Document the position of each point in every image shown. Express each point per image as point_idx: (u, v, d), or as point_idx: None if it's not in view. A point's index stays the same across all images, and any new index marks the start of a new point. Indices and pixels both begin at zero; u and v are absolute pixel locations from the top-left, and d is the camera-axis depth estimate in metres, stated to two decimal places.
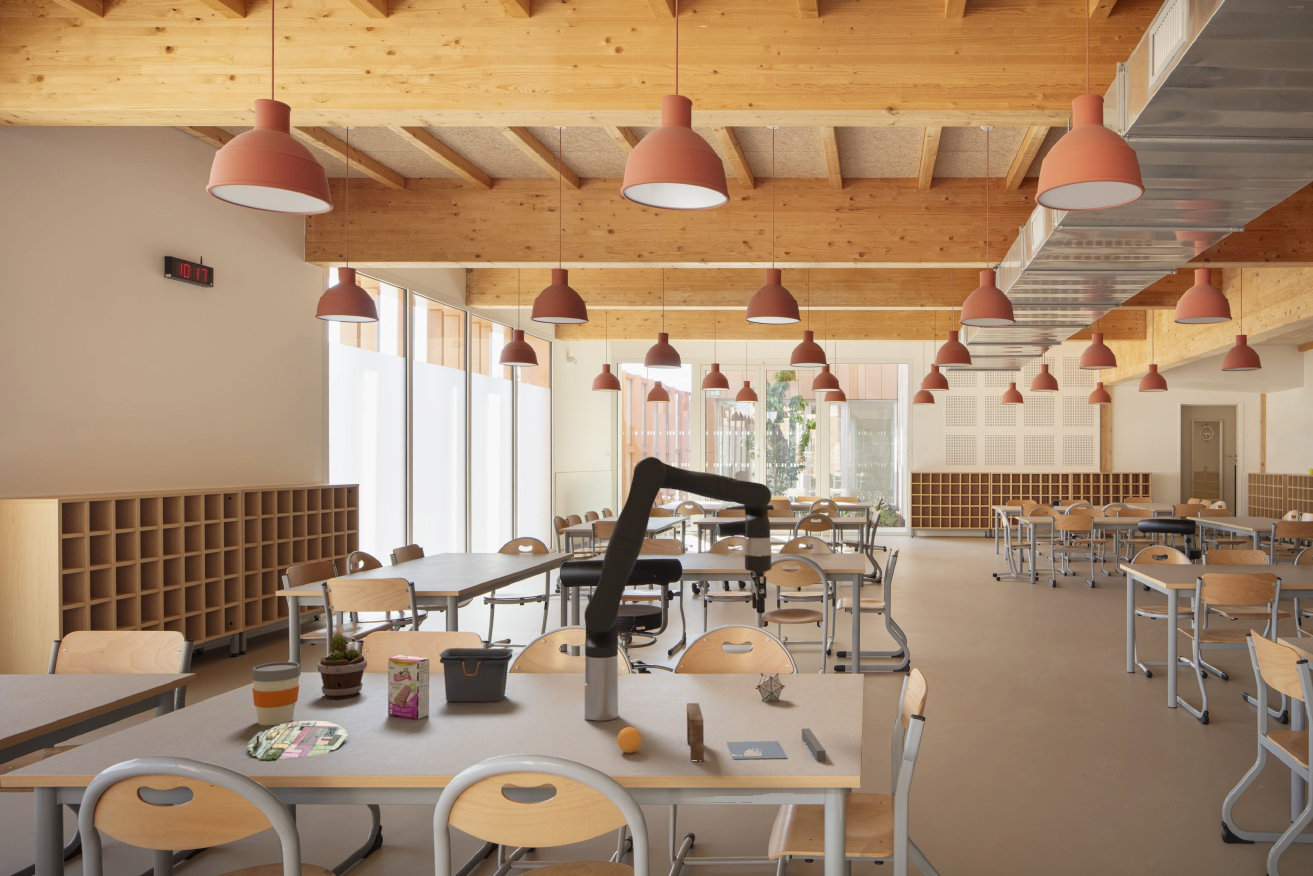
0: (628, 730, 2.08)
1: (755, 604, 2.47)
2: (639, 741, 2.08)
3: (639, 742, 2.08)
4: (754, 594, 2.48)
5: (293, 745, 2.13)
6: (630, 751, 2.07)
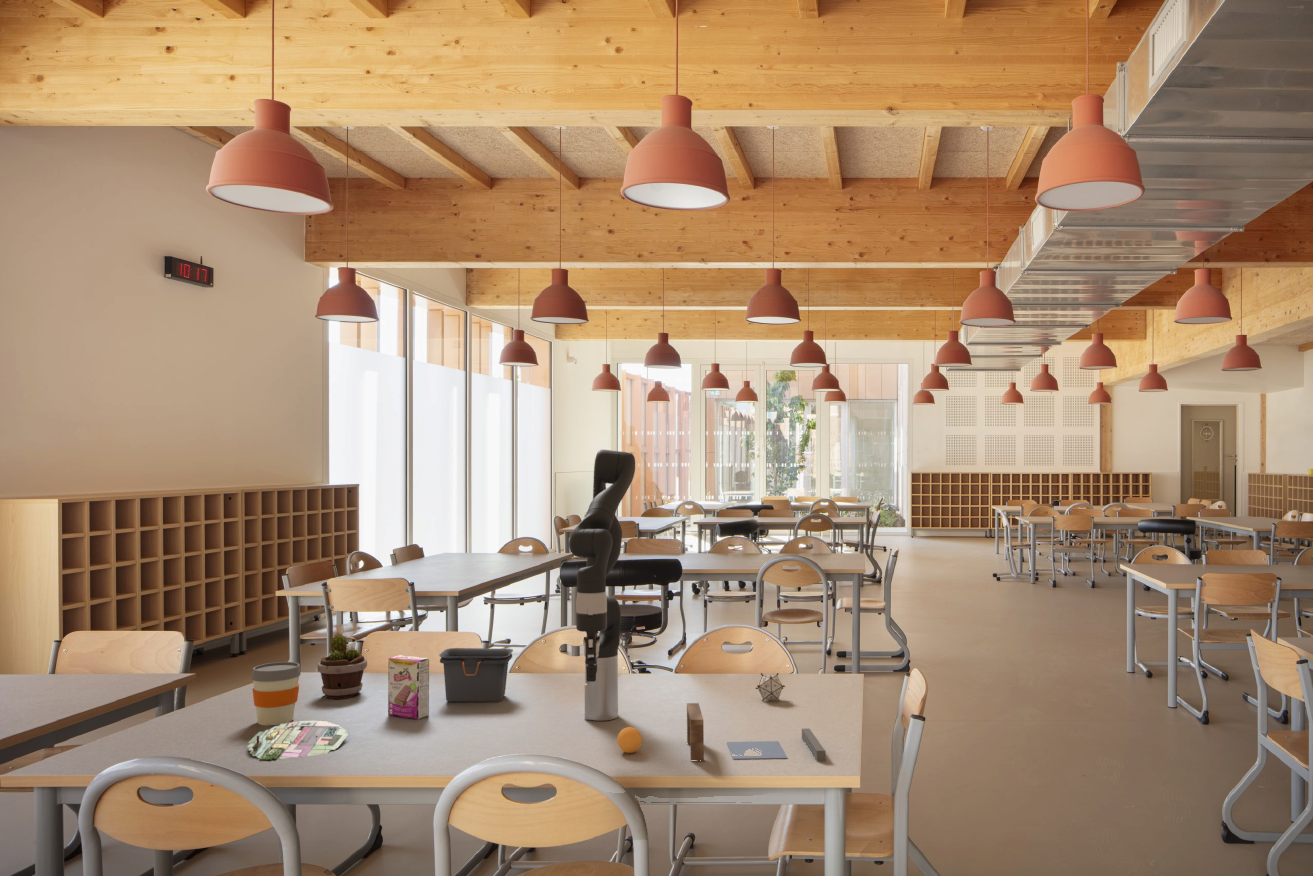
0: (628, 730, 2.08)
1: None
2: (639, 741, 2.08)
3: (639, 742, 2.08)
4: (590, 657, 2.14)
5: (293, 745, 2.13)
6: (630, 751, 2.07)
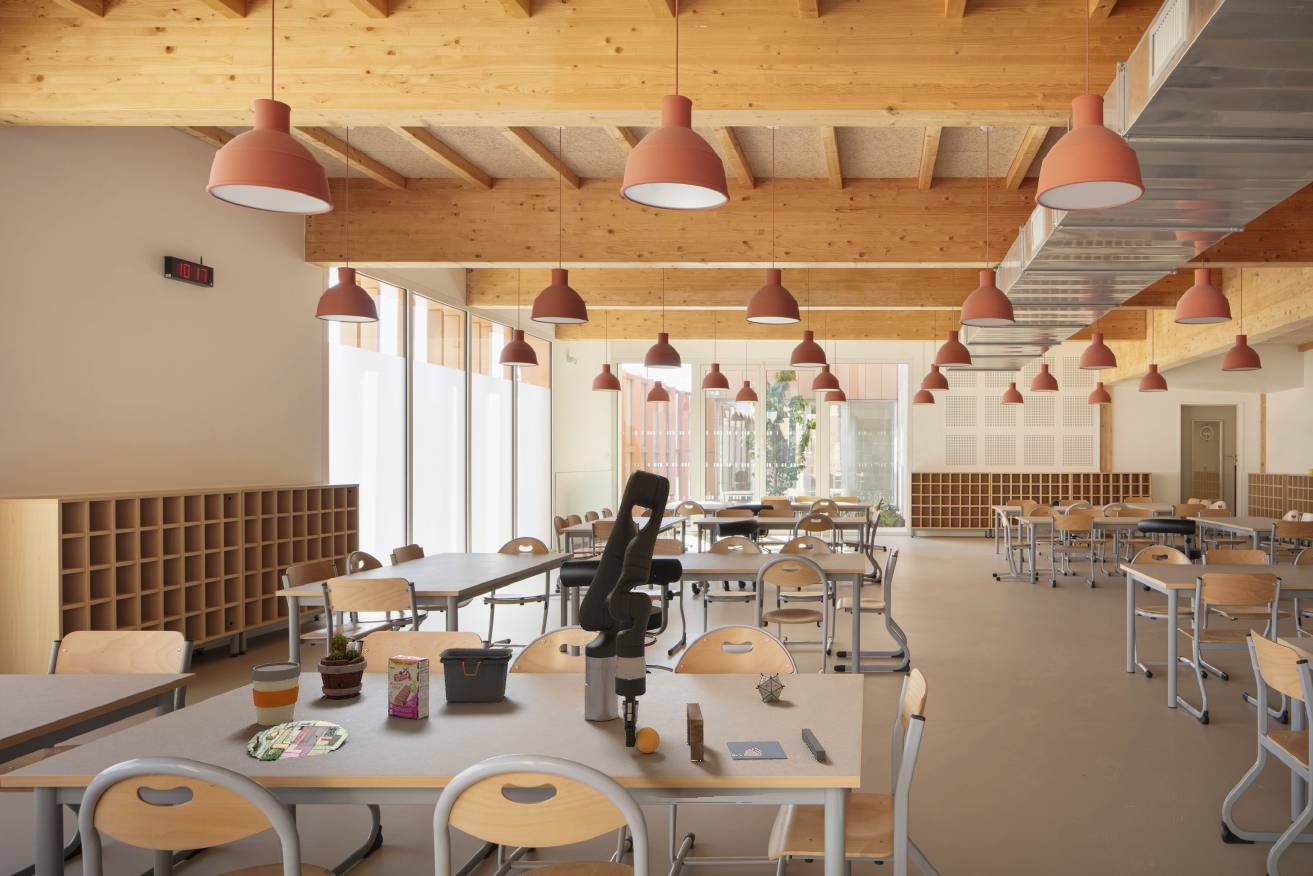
0: (655, 735, 2.07)
1: None
2: (653, 750, 2.07)
3: (652, 751, 2.07)
4: None
5: (293, 745, 2.13)
6: (640, 749, 2.07)
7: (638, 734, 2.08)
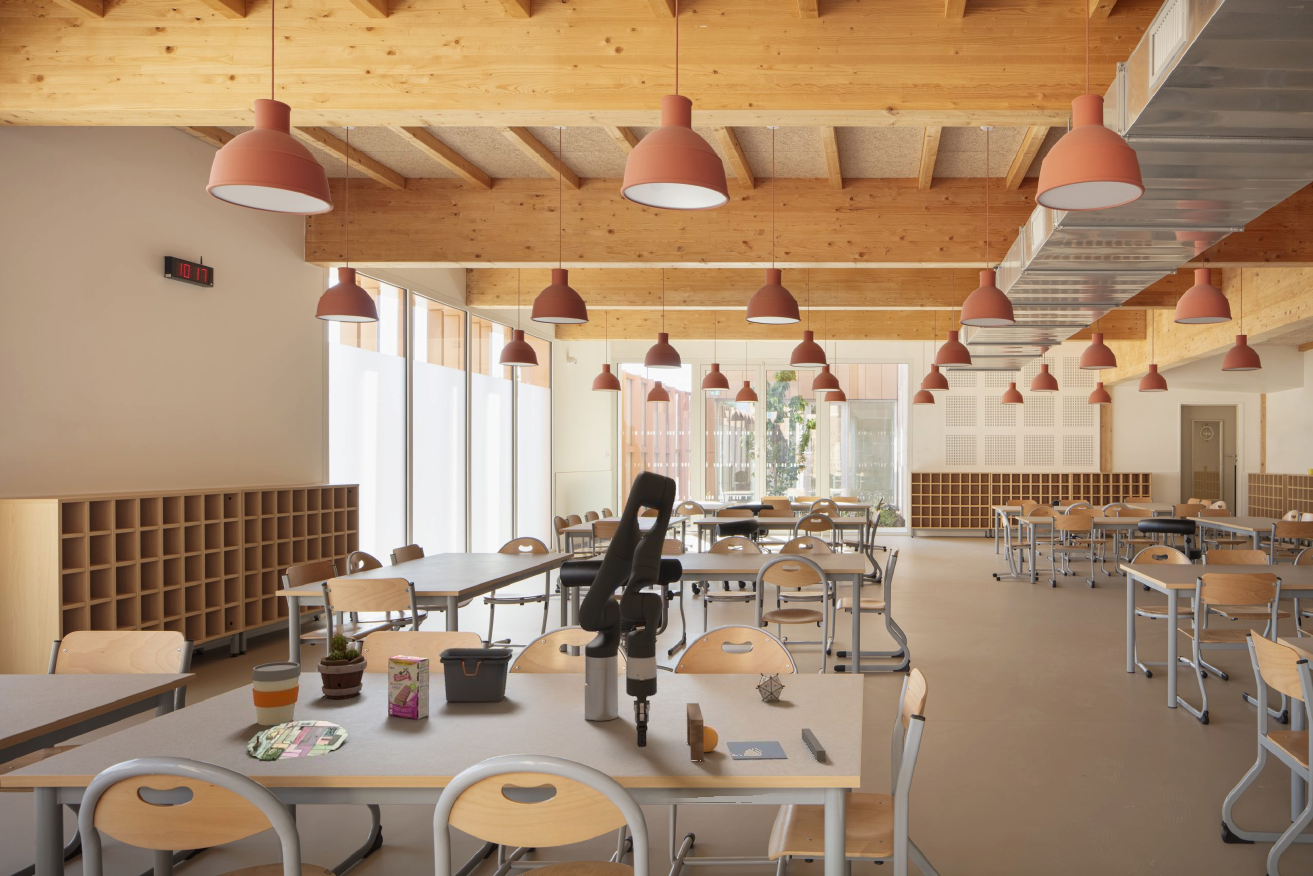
0: None
1: None
2: (715, 735, 2.08)
3: (715, 735, 2.08)
4: None
5: (293, 745, 2.13)
6: (713, 748, 2.08)
7: None
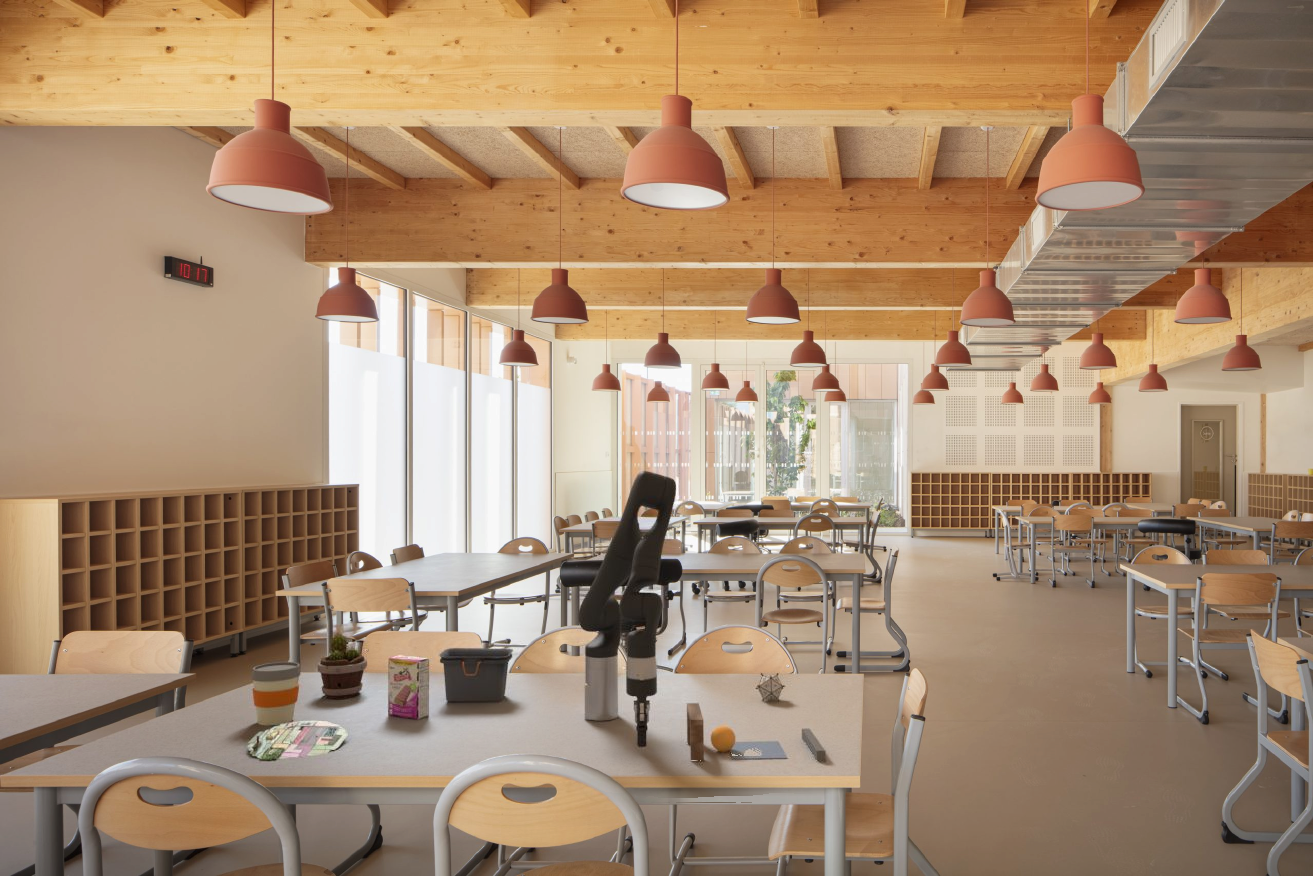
0: (730, 732, 2.08)
1: None
2: None
3: (730, 748, 2.08)
4: None
5: (293, 745, 2.13)
6: (718, 748, 2.08)
7: (713, 734, 2.09)
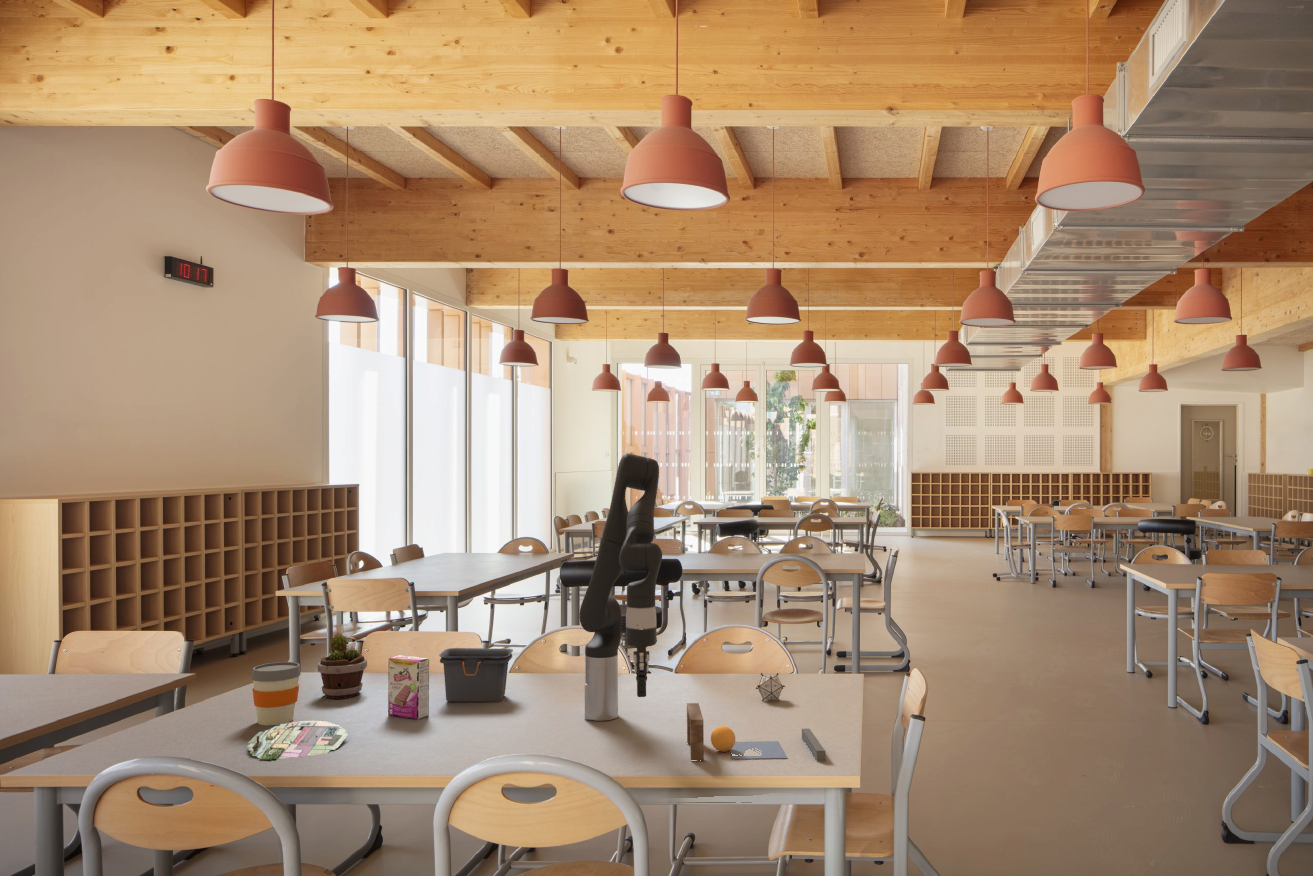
0: (730, 732, 2.08)
1: None
2: None
3: (730, 748, 2.08)
4: None
5: (293, 745, 2.13)
6: (718, 748, 2.08)
7: (713, 734, 2.09)
